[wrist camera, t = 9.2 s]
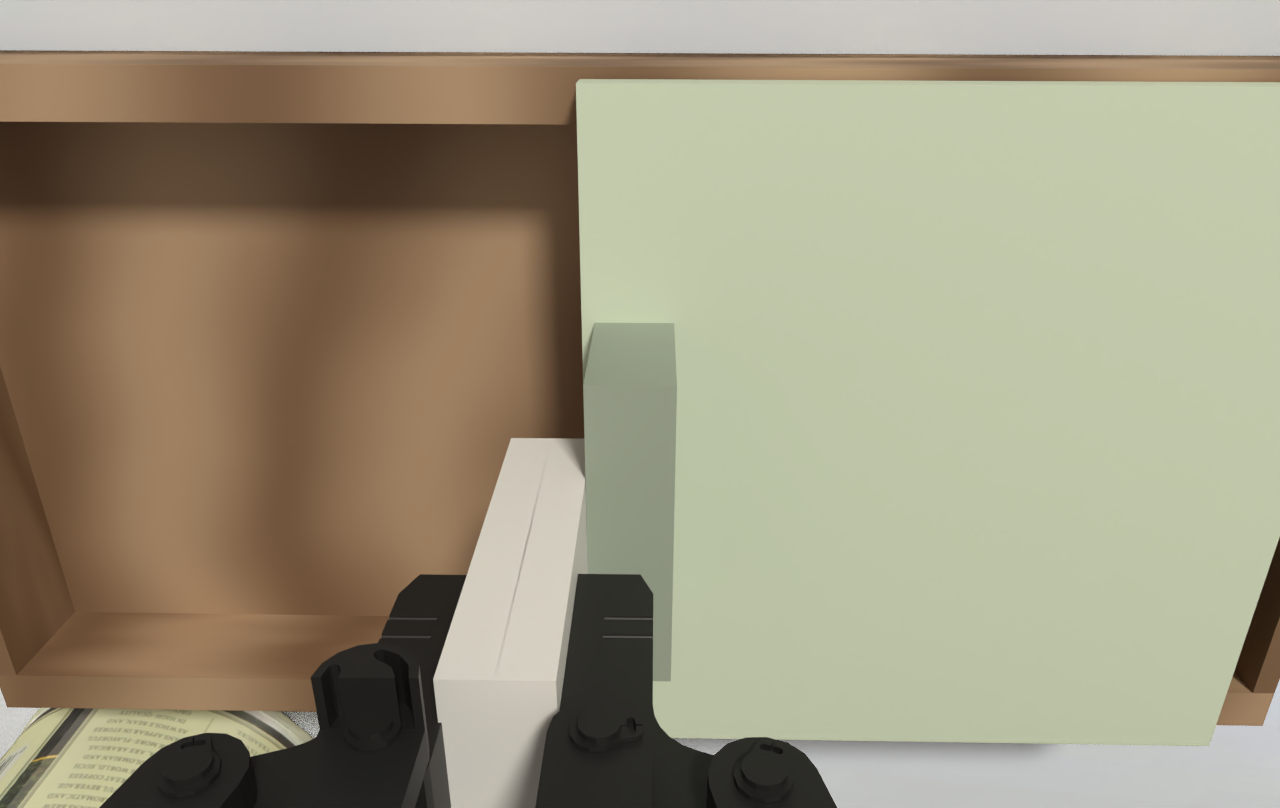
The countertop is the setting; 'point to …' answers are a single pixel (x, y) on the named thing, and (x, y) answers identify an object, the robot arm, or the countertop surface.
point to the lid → (934, 399)
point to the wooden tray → (314, 342)
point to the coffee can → (117, 749)
